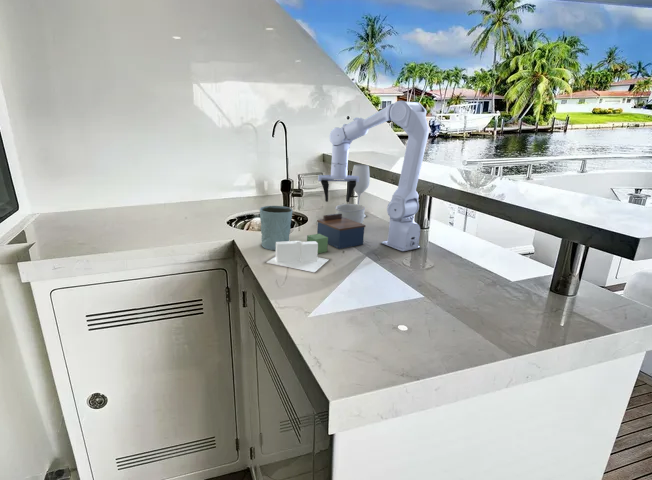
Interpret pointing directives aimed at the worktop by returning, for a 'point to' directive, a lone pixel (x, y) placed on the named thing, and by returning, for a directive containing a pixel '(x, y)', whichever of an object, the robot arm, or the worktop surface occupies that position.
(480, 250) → the worktop surface
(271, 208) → the teal plant pot
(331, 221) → the tin lid
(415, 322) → the worktop surface
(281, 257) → the twin cubes on base
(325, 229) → the tin
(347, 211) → the teacup
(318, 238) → the block
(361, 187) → the wineglass
